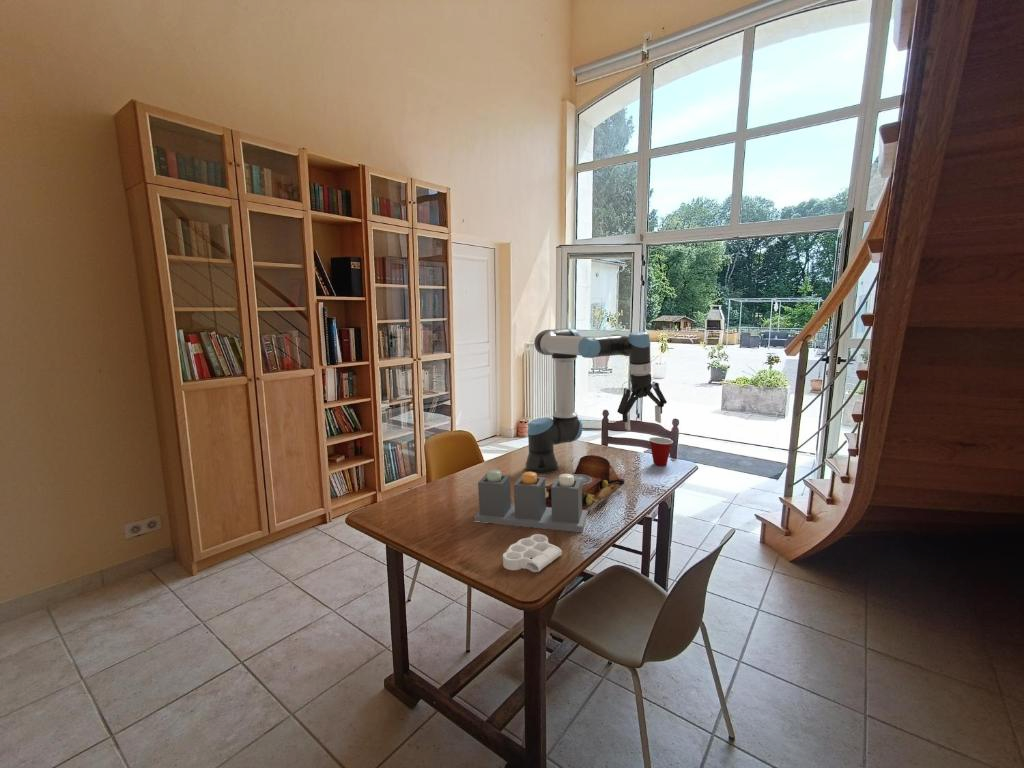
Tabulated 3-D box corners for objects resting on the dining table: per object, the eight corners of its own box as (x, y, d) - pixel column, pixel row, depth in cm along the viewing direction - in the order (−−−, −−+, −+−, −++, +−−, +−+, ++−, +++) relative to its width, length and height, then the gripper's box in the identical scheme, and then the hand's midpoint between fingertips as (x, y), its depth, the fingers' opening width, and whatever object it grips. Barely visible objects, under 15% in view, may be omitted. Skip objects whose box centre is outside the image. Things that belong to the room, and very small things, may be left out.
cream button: (558, 489, 155) (557, 478, 154) (560, 484, 160) (560, 473, 159) (572, 490, 154) (572, 479, 153) (575, 485, 158) (574, 474, 158)
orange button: (521, 487, 159) (520, 476, 158) (524, 482, 163) (524, 471, 163) (535, 488, 157) (534, 476, 157) (538, 483, 162) (537, 472, 161)
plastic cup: (676, 467, 210) (676, 442, 208) (652, 468, 210) (652, 442, 208) (668, 460, 220) (668, 436, 219) (645, 461, 221) (646, 436, 219)
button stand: (474, 522, 161) (472, 484, 159) (486, 507, 173) (484, 471, 171) (582, 532, 150) (581, 491, 149) (587, 515, 163) (586, 477, 161)
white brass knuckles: (532, 580, 125) (492, 564, 134) (568, 553, 138) (529, 539, 148) (531, 569, 124) (491, 553, 133) (567, 542, 138) (529, 530, 147)
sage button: (485, 484, 162) (485, 474, 162) (490, 480, 167) (489, 469, 166) (499, 485, 161) (498, 474, 160) (503, 480, 165) (502, 470, 165)
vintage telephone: (633, 455, 191) (591, 486, 159) (633, 483, 193) (591, 519, 161) (580, 448, 205) (532, 474, 173) (581, 474, 207) (533, 505, 175)
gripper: (616, 381, 166) (619, 435, 172) (675, 369, 172) (676, 421, 178) (606, 377, 173) (609, 429, 179) (663, 365, 179) (664, 415, 185)
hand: (643, 425), depth 179 cm, fingers open, 13 cm apart
